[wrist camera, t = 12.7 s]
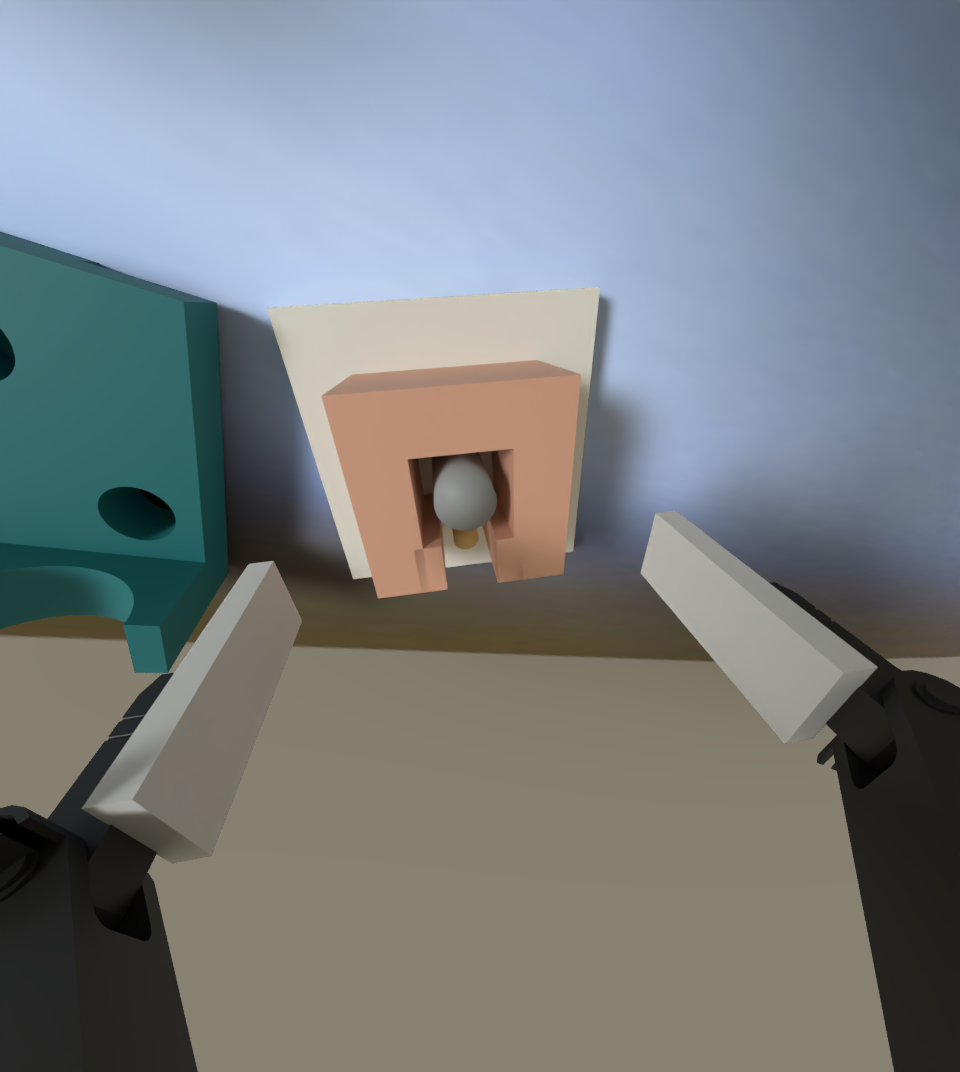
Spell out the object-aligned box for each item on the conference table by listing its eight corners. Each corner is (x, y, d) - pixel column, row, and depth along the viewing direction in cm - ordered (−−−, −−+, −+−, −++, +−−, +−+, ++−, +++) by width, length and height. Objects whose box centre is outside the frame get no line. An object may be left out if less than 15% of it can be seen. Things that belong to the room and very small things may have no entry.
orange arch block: (351, 374, 20) (321, 395, 14) (537, 360, 21) (580, 374, 15) (388, 535, 26) (378, 598, 20) (532, 518, 27) (563, 574, 21)
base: (277, 308, 19) (189, 300, 12) (589, 289, 21) (675, 272, 14) (356, 567, 29) (333, 649, 22) (566, 541, 30) (610, 609, 23)
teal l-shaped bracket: (235, 561, 28) (167, 672, 19) (53, 542, 24) (-131, 670, 16) (226, 303, 19) (101, 298, 11) (-54, 214, 16) (-575, 102, 7)
